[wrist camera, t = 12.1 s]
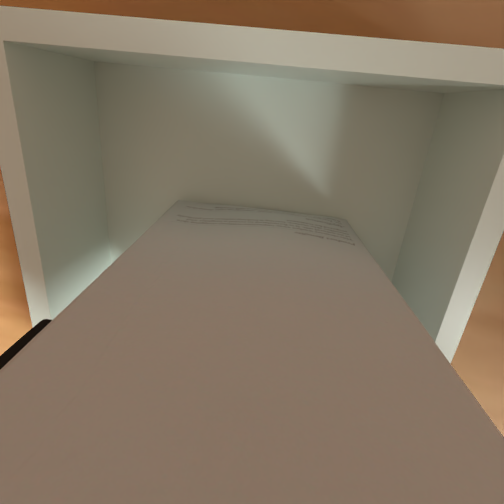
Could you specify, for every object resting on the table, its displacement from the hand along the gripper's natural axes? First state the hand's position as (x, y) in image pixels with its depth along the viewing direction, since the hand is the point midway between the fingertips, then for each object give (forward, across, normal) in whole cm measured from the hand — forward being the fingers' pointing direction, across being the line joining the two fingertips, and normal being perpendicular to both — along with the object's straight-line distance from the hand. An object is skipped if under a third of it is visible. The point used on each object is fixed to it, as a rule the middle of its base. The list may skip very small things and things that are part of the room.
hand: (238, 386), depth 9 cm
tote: (+9, +1, 0) cm, 9 cm away
